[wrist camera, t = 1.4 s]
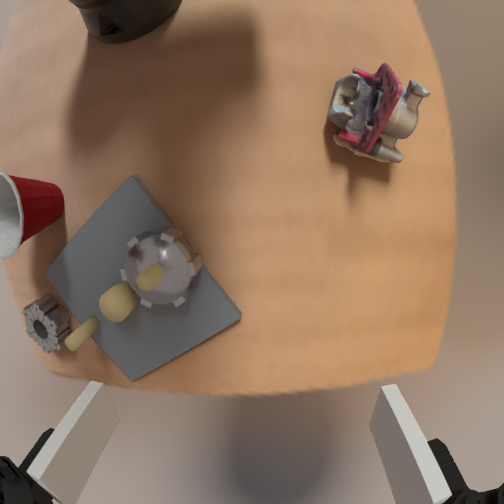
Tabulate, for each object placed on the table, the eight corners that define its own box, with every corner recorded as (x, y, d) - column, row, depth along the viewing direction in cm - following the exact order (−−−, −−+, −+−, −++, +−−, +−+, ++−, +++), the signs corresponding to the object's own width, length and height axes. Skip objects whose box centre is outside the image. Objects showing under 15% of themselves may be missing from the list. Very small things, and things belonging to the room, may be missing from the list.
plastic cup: (41, 248, 35) (-11, 270, 24) (24, 185, 33) (-30, 193, 21) (86, 225, 34) (28, 245, 22) (67, 155, 32) (7, 153, 20)
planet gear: (29, 309, 38) (16, 318, 34) (48, 284, 37) (33, 293, 33) (59, 350, 40) (48, 361, 36) (81, 329, 38) (69, 341, 34)
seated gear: (123, 252, 33) (108, 261, 29) (169, 211, 32) (157, 216, 28) (165, 307, 35) (155, 321, 31) (215, 272, 33) (209, 284, 29)
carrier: (50, 270, 36) (15, 288, 28) (137, 175, 32) (102, 175, 24) (135, 376, 40) (115, 409, 32) (241, 312, 36) (235, 349, 28)
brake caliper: (322, 51, 25) (415, 42, 16) (371, 91, 32) (449, 97, 23) (300, 135, 28) (400, 148, 19) (355, 163, 35) (435, 183, 26)
